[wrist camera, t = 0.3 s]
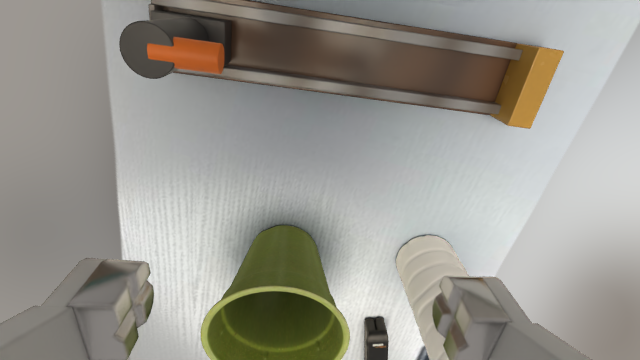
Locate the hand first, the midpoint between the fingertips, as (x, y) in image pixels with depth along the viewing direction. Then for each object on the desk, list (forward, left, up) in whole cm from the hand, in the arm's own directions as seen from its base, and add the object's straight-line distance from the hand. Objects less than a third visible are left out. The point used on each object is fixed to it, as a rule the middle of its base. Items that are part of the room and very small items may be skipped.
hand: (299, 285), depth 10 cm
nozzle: (-7, -5, -21) cm, 23 cm away
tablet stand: (+37, -5, -23) cm, 44 cm away
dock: (+6, +17, -21) cm, 28 cm away
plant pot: (+15, -9, -23) cm, 28 cm away
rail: (-1, +5, -23) cm, 23 cm away
